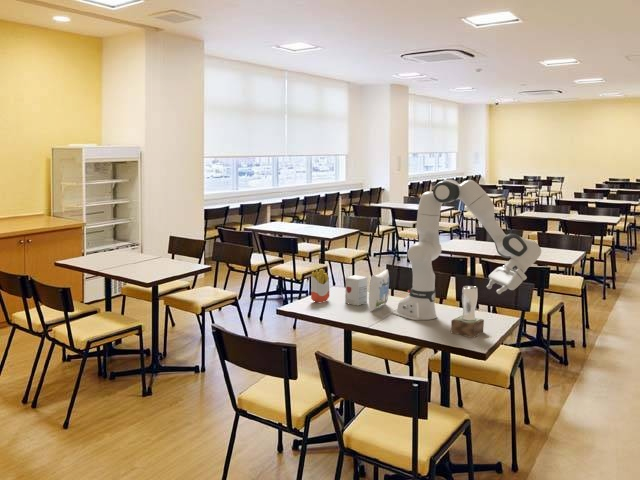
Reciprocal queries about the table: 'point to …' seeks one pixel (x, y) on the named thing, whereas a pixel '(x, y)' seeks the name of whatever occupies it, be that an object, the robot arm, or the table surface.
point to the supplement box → (356, 290)
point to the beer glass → (469, 302)
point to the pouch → (378, 290)
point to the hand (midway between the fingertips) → (492, 290)
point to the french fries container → (319, 286)
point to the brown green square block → (467, 327)
